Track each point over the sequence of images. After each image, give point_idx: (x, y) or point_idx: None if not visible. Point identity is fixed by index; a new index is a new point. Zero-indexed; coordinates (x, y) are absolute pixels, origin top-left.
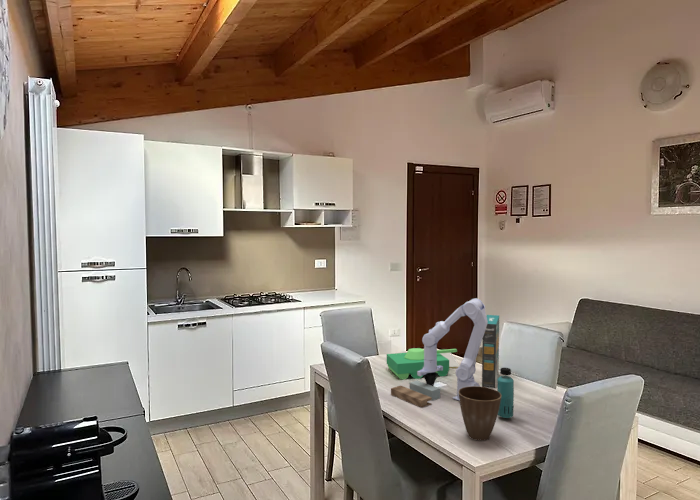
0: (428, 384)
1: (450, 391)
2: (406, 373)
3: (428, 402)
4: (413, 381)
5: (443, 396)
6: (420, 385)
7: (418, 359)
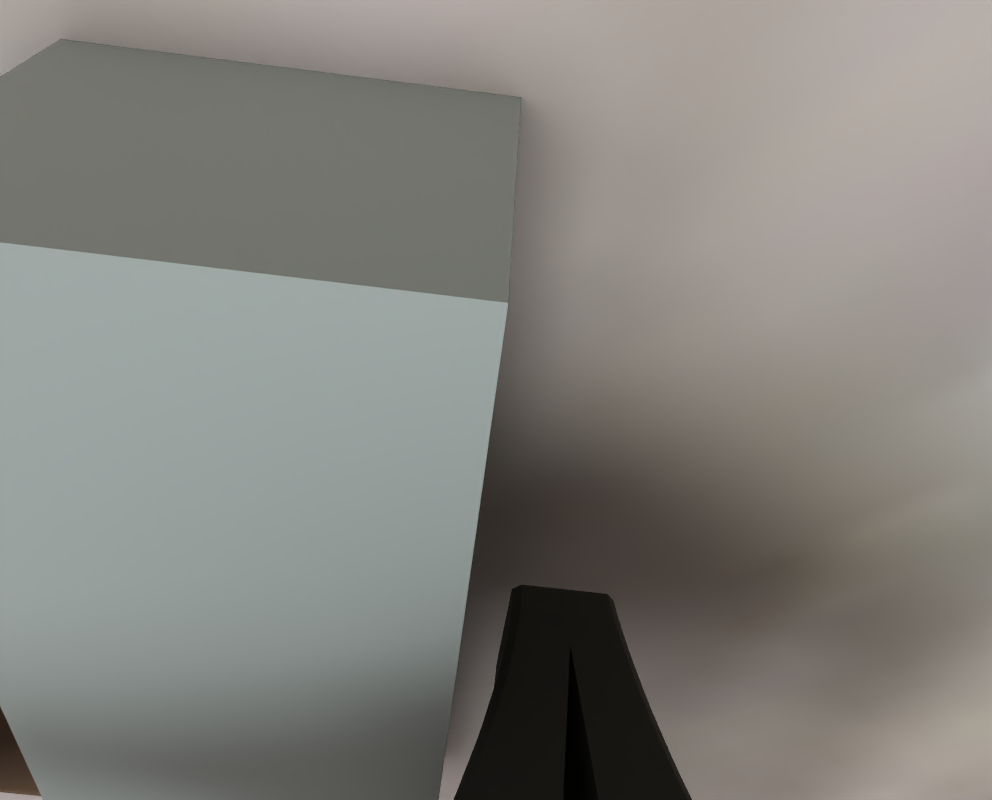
0: (430, 797)
1: (951, 731)
2: None
3: None
4: (150, 261)
5: None
6: (96, 710)
7: None
